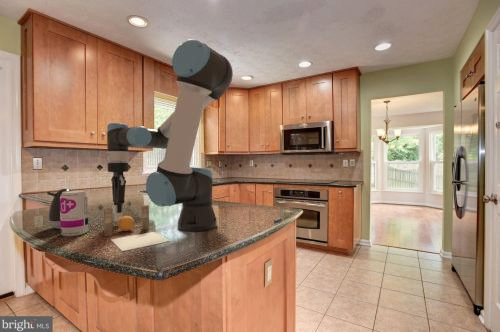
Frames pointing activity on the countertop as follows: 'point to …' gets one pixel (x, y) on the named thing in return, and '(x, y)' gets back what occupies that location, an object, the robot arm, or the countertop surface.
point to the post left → (108, 222)
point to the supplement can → (73, 213)
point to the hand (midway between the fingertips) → (118, 220)
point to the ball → (126, 223)
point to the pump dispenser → (55, 208)
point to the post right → (145, 217)
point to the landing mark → (138, 241)
